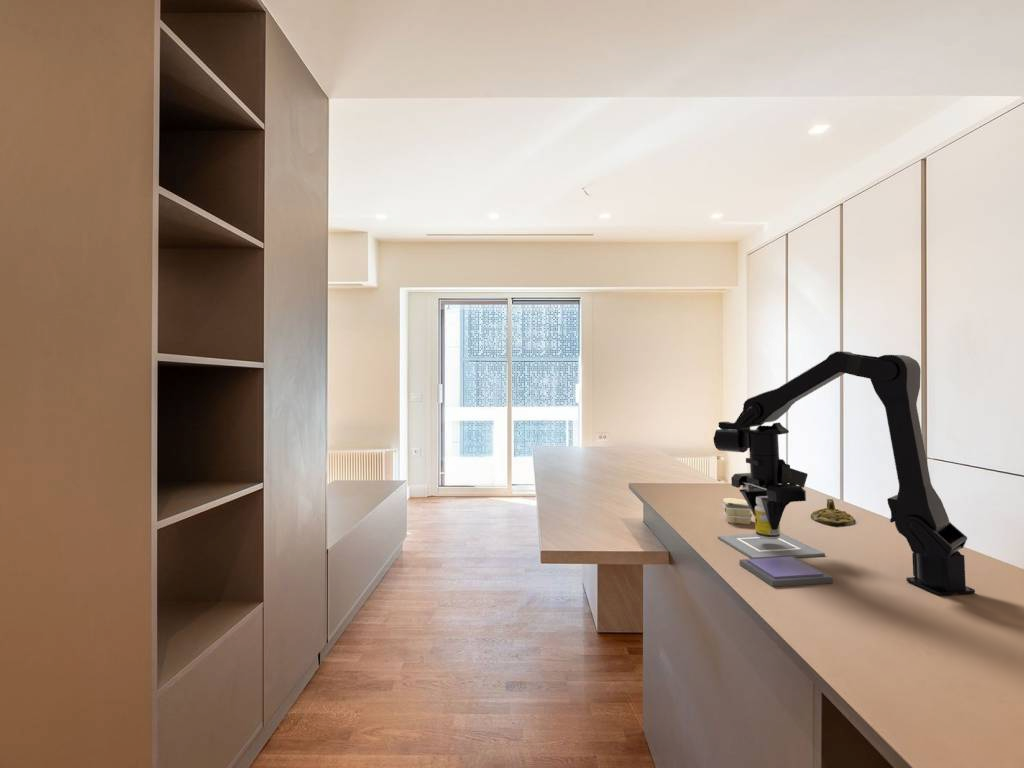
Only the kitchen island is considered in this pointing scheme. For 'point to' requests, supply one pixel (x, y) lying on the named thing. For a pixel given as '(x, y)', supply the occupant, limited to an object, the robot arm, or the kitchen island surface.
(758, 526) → the supplement bottle
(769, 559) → the pad
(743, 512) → the cream tiered block
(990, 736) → the kitchen island surface
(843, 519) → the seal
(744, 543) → the board
